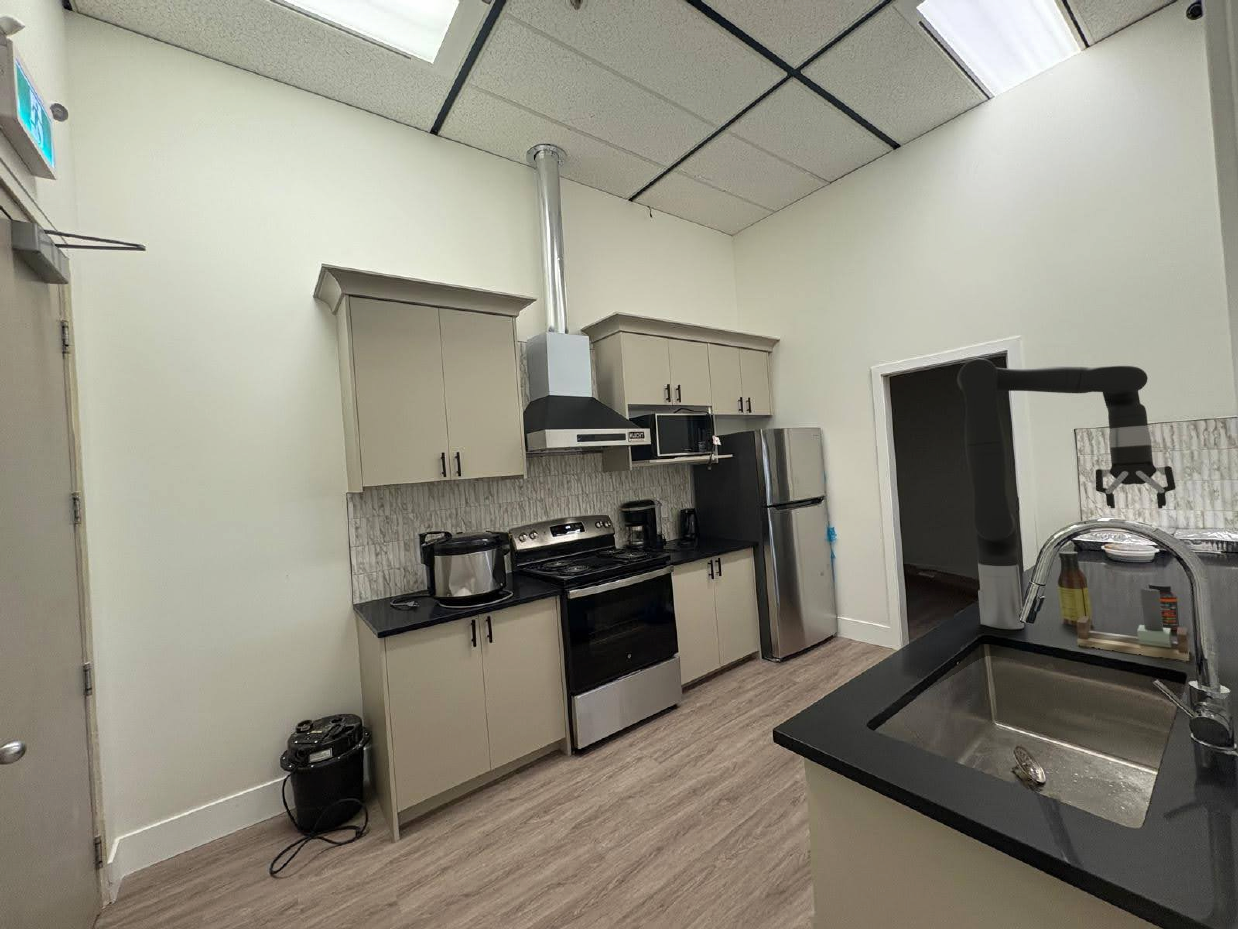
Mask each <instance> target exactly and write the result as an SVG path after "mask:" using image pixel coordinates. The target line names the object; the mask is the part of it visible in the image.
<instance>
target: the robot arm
mask: <svg viewBox="0 0 1238 929" xmlns="http://www.w3.org/2000/svg"><path fill="white" fill-rule="evenodd" d="M956 383H957V386H958V387H959V389H960V390H961V391H962V393H963V397H964V403H965V410H966V412H965V413H966V414H965V424H964V426H965V427H964V445H965V446H964V447H965V454H966V462H967V468H968V472H969V476H970V477H969V478H970V481H971V486H972V489H973V502H974V503H973V507H974V508H973V527H974V530H975V534H976V545H977V547H976V552H977V553H976V557H977V568H978V579H979V588H980V589H979V590H978V591H977V594H978V595H977V596H978V597H977V598H978V609H979V619H980V624H981V625H983V626H987V627H990V628H996V629H1002V630H1020V629H1023V628H1025V623H1021V622H1020V619H1019V615H1020V611H1021V609H1023V600H1022V591H1021V578H1020V569H1019V555H1018V550H1019V549H1018V543H1017V539H1018V538H1017V530H1016V521H1015V518H1014V516H1013V514H1012V513H1011V511H1010V506H1009V502H1008V497H1007V490H1006V489H1007V488H1006V483H1007V470H1008V466H1007V465H1008V464H1007V460H1008V459H1007V458H1008V456H1007V448H1006V440H1005V439H1006V438H1005V435H1004V434H1005V433H1004V429H1003V424H1002V419H1001V416H1000V411H999V406H998V392H1015V391H1016V392H1039V393H1054V394H1055V393H1057V394H1087V393H1102V396H1103V400H1104V403H1105V406H1106V407H1105V408H1106V409H1107V412H1108V417H1107V418H1108V427H1109V428H1108V429H1109V433H1108V434H1109V435H1108V442H1109V450H1110V451H1109V452H1110V464H1111V468H1110V469H1102V468H1097V469H1095V491H1096V492H1099V493H1102V494H1105V499H1106V500H1105V501H1106V506H1107V507H1109V508H1110V509H1115V508H1116V500H1115V493H1114V492H1115V490H1116V489H1117V488H1118V487H1120V485H1125V486H1128V485H1129V486H1131V485H1144V484H1148V485H1149V486H1150V487H1151V488H1152V489H1154V490H1156V492H1157V493H1156V499H1157V500H1156V502H1157V508H1158V509H1163V507H1165V506H1166V505H1167V498H1166V493H1168V492H1171V491H1174V490H1176V482H1175V477H1174V473H1173V468H1172V466H1171V465H1166V466H1160V467H1159V466H1158V467H1156V466H1155V464H1154V459H1153V458H1154V457H1153V449H1152V439H1151V434H1150V429H1149V424H1148V423H1149V422H1148V414H1147V410H1146V406H1144V404H1141V400H1140V395H1139V391H1140V390H1142V389H1143V388H1144V387H1145V386H1146V385H1147V383H1148V375H1147V373H1146V371H1144V369H1142V368H1140V367H1137V366H1133V365H1109V366H1098V367H1097V366H1095V367H1088V366H1087V367H1086V366H1045V367H1043V366H1042V367H1034V368H1033V367H1032V368H1031V367H1030V368H1006V367H1005V368H1004V367H996V365H995V364H994V363H993V362H992V361H990V360H989V359H986V358H981V357H980V358H973V359H971V360H969V361H967V362H966V363H964V365H963V366H961V368H960V370H959V372H958V374H957V378H956ZM1157 472H1159V473H1160V475H1162V476H1165V480H1166V486H1162V485H1161V484H1159V483H1158V482H1157V481H1156V480H1154V479H1153V478H1152V477H1154V475H1155V474H1156V473H1157ZM1108 474H1110V475H1111V476H1112V477H1113V478H1114V481H1112V483H1111V484H1110V485H1109V486H1108V487H1107V488H1106V487H1104V478H1107V476H1108Z"/></svg>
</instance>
